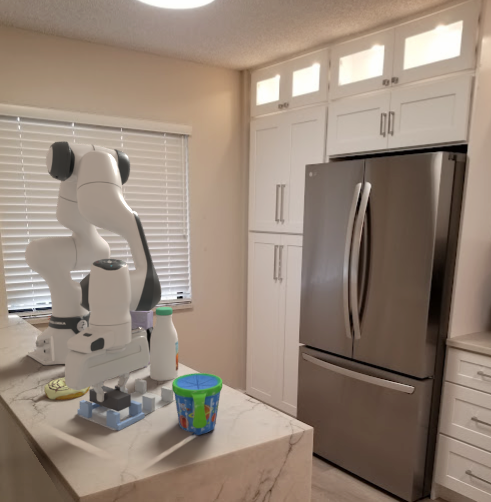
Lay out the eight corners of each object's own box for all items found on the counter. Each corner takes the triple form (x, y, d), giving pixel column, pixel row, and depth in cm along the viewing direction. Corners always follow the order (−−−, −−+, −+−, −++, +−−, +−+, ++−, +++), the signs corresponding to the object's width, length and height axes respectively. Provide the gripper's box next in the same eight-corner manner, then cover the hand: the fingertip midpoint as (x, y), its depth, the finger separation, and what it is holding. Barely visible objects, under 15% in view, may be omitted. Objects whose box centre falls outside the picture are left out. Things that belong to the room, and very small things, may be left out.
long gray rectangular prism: (89, 401, 94) (89, 389, 94) (102, 396, 97) (102, 385, 97) (118, 411, 89) (118, 399, 89) (130, 406, 92) (130, 394, 92)
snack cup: (176, 412, 97) (176, 368, 97) (222, 411, 98) (222, 368, 97) (167, 447, 82) (167, 396, 81) (222, 446, 82) (222, 395, 82)
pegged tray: (75, 419, 93) (75, 401, 93) (137, 392, 108) (137, 377, 108) (116, 436, 86) (116, 416, 86) (177, 405, 101) (177, 388, 101)
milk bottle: (172, 385, 114) (172, 311, 113) (145, 382, 115) (145, 310, 114) (182, 375, 121) (182, 306, 120) (157, 373, 123) (156, 305, 122)
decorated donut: (46, 408, 99) (46, 392, 99) (43, 392, 108) (42, 378, 108) (93, 399, 104) (92, 384, 104) (86, 385, 114) (85, 371, 113)
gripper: (136, 323, 102) (137, 379, 103) (59, 342, 85) (60, 409, 86) (155, 327, 99) (155, 385, 100) (79, 347, 82) (80, 417, 82)
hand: (111, 396), depth 93 cm, fingers closed on long gray rectangular prism, 3 cm apart
